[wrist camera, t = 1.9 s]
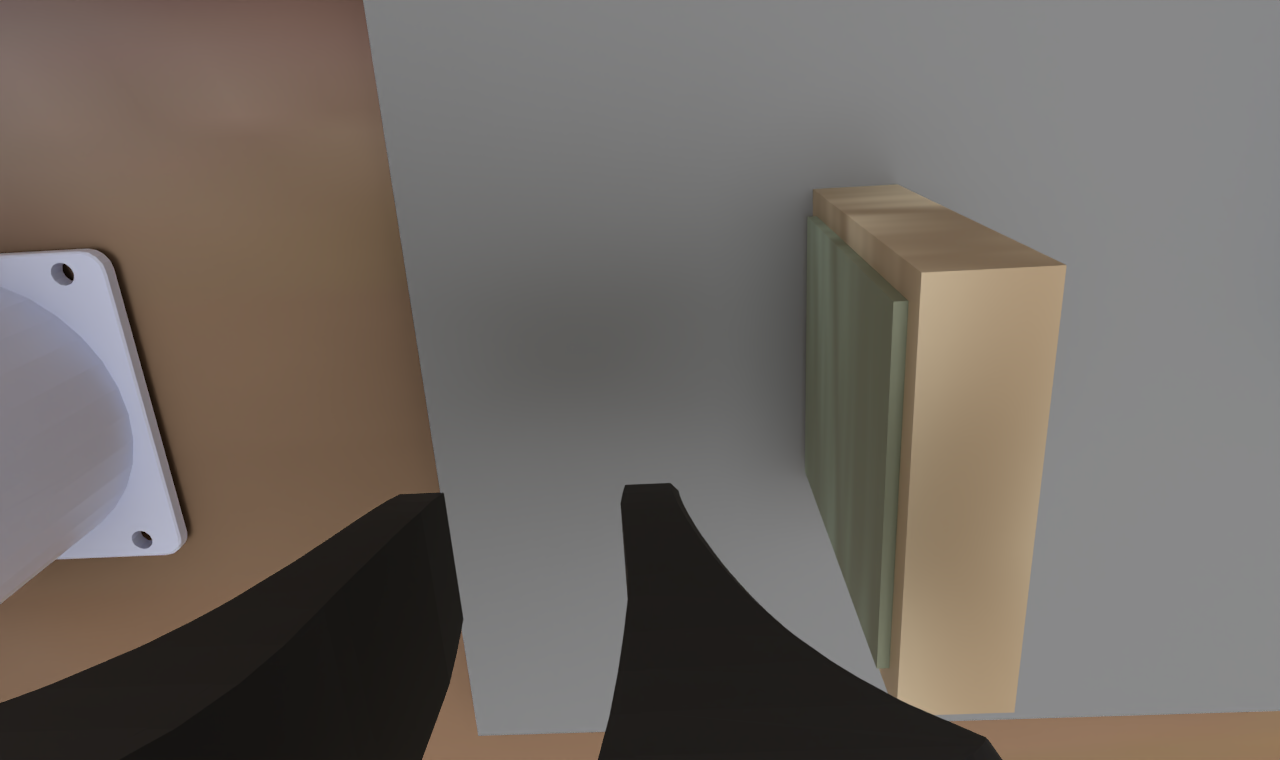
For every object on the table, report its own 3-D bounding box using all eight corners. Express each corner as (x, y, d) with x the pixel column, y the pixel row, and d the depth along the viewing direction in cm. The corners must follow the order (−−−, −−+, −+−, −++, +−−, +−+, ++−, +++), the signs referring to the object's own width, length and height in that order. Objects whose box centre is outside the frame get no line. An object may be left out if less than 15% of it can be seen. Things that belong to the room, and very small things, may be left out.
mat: (483, 715, 24) (478, 735, 24) (348, -175, 17) (334, -186, 16) (1270, 690, 23) (1290, 710, 23) (1502, -261, 16) (1544, -278, 15)
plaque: (801, 480, 21) (883, 716, 13) (803, 189, 18) (905, 274, 11) (884, 477, 20) (1014, 712, 13) (897, 184, 18) (1066, 264, 11)
